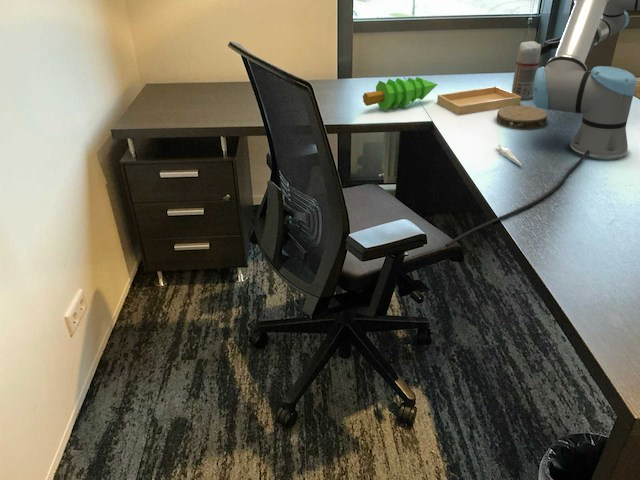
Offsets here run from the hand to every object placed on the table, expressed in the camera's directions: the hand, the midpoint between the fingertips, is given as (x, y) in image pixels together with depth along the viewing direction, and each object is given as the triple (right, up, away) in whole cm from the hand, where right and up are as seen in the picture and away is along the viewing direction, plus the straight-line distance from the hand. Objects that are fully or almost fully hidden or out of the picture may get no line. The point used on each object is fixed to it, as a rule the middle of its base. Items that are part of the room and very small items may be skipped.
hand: (549, 57), depth 204 cm
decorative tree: (-54, -17, +4) cm, 57 cm away
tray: (-26, -17, +2) cm, 31 cm away
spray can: (-7, -13, +7) cm, 16 cm away
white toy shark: (-29, -44, -43) cm, 68 cm away
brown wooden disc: (-16, -27, -16) cm, 36 cm away
